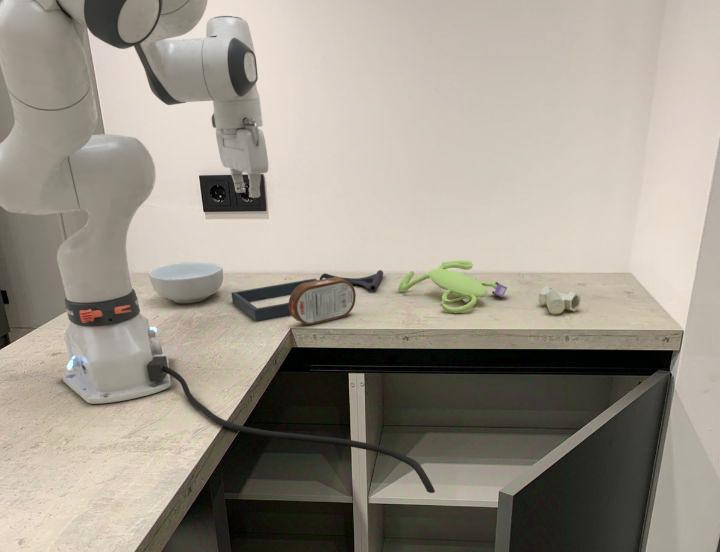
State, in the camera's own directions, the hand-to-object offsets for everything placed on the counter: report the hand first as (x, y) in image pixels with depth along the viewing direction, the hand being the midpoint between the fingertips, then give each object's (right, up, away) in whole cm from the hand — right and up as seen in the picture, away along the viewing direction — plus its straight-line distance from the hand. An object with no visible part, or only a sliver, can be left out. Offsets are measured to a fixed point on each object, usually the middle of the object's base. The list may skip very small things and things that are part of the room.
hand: (247, 194), depth 146 cm
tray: (+6, -17, +21) cm, 28 cm away
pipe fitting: (+63, -22, +7) cm, 67 cm away
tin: (+15, -23, +9) cm, 29 cm away
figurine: (+43, -15, +20) cm, 50 cm away
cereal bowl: (-18, -14, +29) cm, 37 cm away
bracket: (+20, -9, +33) cm, 40 cm away
